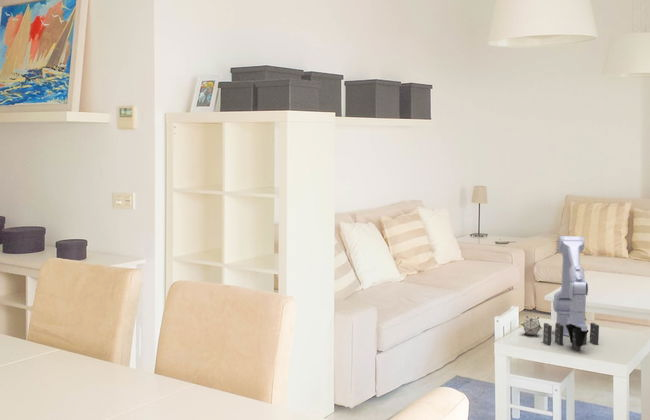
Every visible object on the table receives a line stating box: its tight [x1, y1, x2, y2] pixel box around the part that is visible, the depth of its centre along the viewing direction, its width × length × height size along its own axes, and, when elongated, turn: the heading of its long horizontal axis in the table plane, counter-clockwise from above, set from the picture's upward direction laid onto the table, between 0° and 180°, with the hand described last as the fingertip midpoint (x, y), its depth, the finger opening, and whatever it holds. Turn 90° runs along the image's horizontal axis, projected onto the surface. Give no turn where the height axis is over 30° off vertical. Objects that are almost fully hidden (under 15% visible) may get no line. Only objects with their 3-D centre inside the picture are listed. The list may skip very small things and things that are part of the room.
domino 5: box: [589, 322, 600, 346], centre depth 314 cm, size 1×5×8 cm, turn 5°
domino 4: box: [582, 324, 588, 346], centre depth 313 cm, size 1×5×8 cm, turn 5°
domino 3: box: [571, 328, 582, 352], centre depth 304 cm, size 1×5×8 cm, turn 5°
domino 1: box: [542, 322, 553, 346], centre depth 312 cm, size 1×5×8 cm, turn 5°
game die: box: [520, 315, 543, 337], centre depth 326 cm, size 9×8×10 cm
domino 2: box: [554, 322, 564, 346], centre depth 313 cm, size 1×5×8 cm, turn 5°
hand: (576, 344), depth 304 cm, fingers closed on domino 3, 5 cm apart
